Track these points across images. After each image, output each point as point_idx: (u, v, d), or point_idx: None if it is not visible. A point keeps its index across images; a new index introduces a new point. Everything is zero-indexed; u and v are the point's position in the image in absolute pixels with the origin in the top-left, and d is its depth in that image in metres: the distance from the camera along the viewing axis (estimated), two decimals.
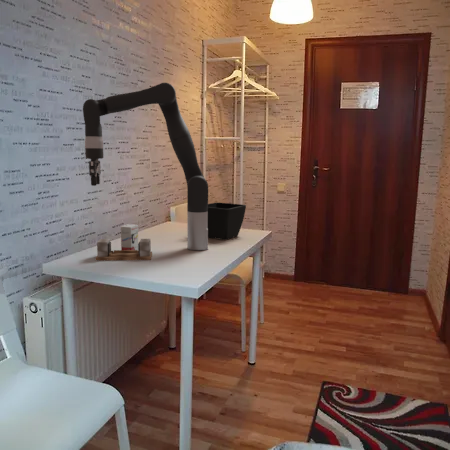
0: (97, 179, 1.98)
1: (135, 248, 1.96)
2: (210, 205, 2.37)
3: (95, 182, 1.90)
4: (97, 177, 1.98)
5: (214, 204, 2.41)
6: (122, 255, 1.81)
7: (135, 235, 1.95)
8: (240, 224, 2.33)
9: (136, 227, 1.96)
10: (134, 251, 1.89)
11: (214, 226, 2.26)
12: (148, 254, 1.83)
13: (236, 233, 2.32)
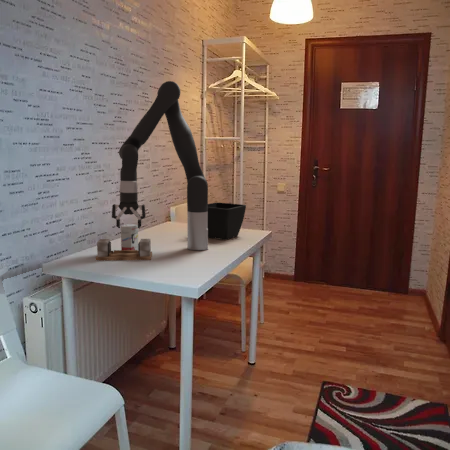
0: (119, 223, 1.94)
1: (135, 248, 1.96)
2: (210, 205, 2.37)
3: None
4: (119, 221, 1.94)
5: (214, 204, 2.41)
6: (122, 255, 1.81)
7: (135, 235, 1.95)
8: (240, 224, 2.33)
9: (136, 227, 1.96)
10: (134, 251, 1.89)
11: (214, 226, 2.26)
12: (148, 254, 1.83)
13: (236, 233, 2.32)
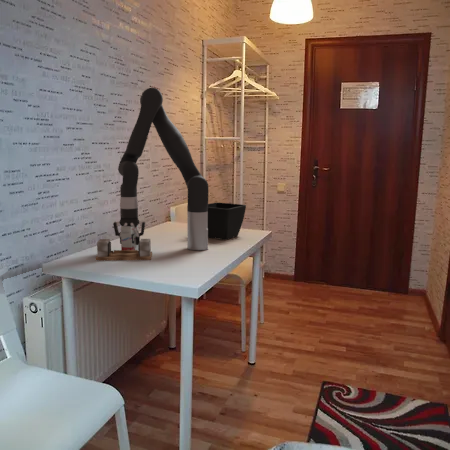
0: None
1: (135, 248, 1.96)
2: (210, 205, 2.37)
3: None
4: None
5: (214, 204, 2.41)
6: (122, 255, 1.81)
7: (135, 235, 1.95)
8: (240, 224, 2.33)
9: (136, 227, 1.96)
10: (134, 251, 1.89)
11: (214, 226, 2.26)
12: (148, 254, 1.83)
13: (236, 233, 2.32)
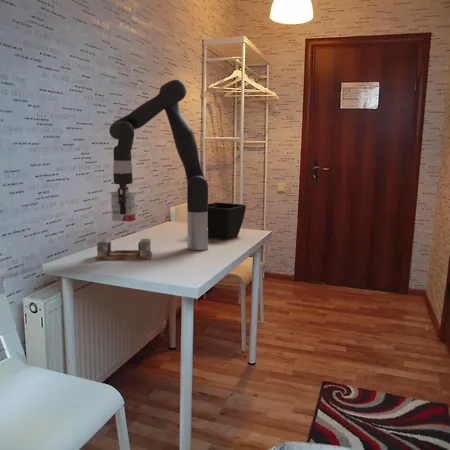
0: None
1: None
2: (210, 205, 2.37)
3: None
4: None
5: (214, 204, 2.41)
6: (122, 255, 1.81)
7: None
8: (240, 224, 2.33)
9: None
10: (134, 251, 1.89)
11: (214, 226, 2.26)
12: (148, 254, 1.83)
13: (236, 233, 2.32)
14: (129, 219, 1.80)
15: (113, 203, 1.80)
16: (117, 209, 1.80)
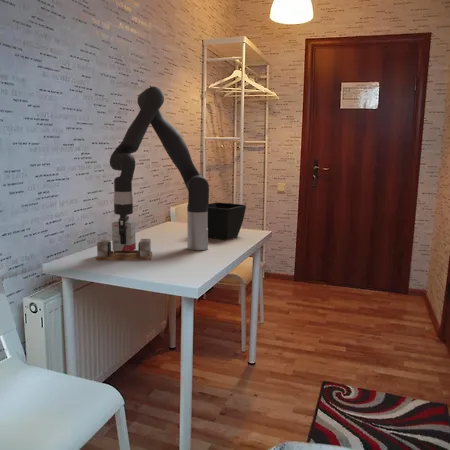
0: None
1: None
2: (210, 205, 2.37)
3: None
4: None
5: (214, 204, 2.41)
6: (122, 255, 1.81)
7: None
8: (240, 224, 2.33)
9: None
10: (134, 251, 1.89)
11: (214, 226, 2.26)
12: (148, 254, 1.83)
13: (236, 233, 2.32)
14: (129, 249, 1.82)
15: (114, 232, 1.82)
16: (118, 239, 1.82)
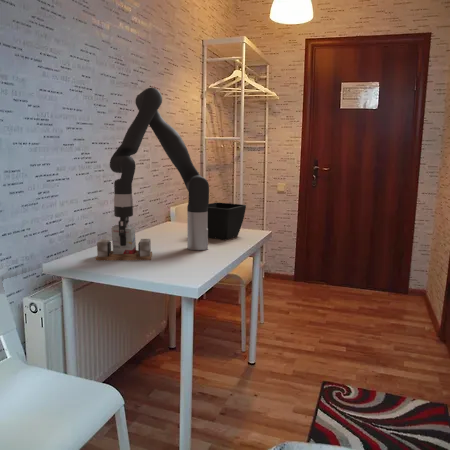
0: None
1: None
2: (210, 205, 2.37)
3: None
4: None
5: (214, 204, 2.41)
6: (122, 255, 1.81)
7: None
8: (240, 224, 2.33)
9: None
10: None
11: (214, 226, 2.26)
12: (148, 254, 1.83)
13: (236, 233, 2.32)
14: None
15: (114, 238, 1.81)
16: (118, 244, 1.82)
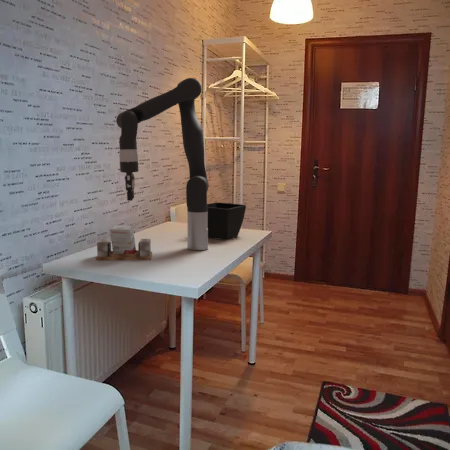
0: None
1: None
2: (210, 205, 2.37)
3: None
4: None
5: (214, 204, 2.41)
6: (122, 255, 1.81)
7: None
8: (240, 224, 2.33)
9: None
10: None
11: (214, 226, 2.26)
12: (148, 254, 1.83)
13: (236, 233, 2.32)
14: None
15: (113, 239, 1.81)
16: (117, 244, 1.82)
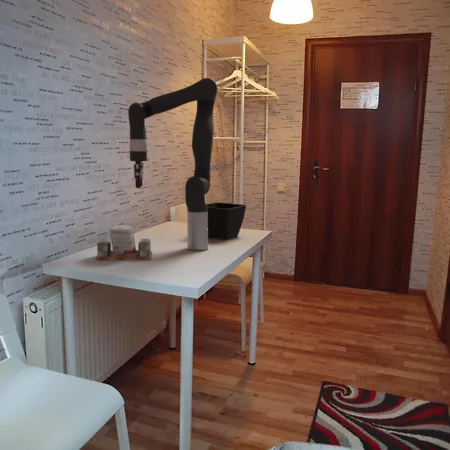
0: None
1: None
2: (210, 205, 2.37)
3: None
4: None
5: (214, 204, 2.41)
6: (122, 255, 1.81)
7: None
8: (240, 224, 2.33)
9: None
10: None
11: (214, 226, 2.26)
12: (148, 254, 1.83)
13: (236, 233, 2.32)
14: None
15: (113, 239, 1.81)
16: (117, 244, 1.82)
